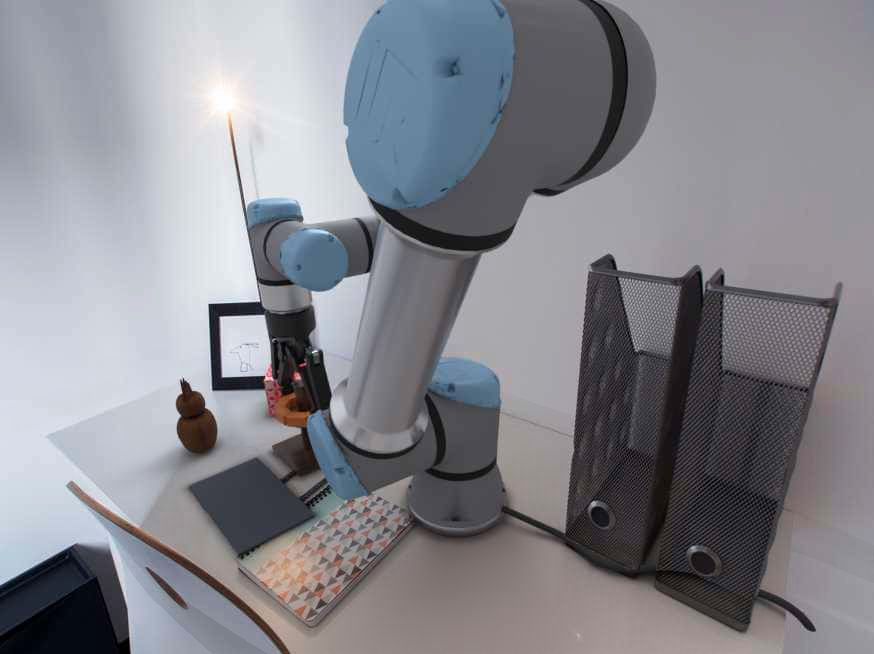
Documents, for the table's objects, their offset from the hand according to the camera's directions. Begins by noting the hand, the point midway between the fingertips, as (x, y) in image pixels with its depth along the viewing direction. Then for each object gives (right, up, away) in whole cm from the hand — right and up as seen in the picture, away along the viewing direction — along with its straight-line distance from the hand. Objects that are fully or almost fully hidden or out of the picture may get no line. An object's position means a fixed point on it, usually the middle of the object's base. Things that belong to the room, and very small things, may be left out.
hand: (307, 429), depth 92 cm
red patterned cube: (-7, +4, +18) cm, 20 cm away
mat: (-7, -11, -9) cm, 16 cm away
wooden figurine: (-20, -4, +5) cm, 21 cm away
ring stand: (0, -4, +2) cm, 5 cm away
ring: (0, +3, -2) cm, 4 cm away
